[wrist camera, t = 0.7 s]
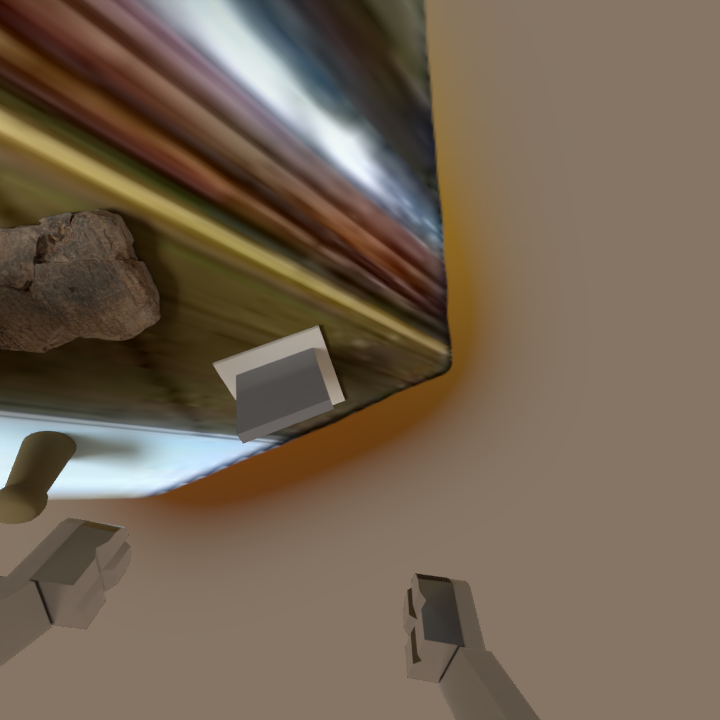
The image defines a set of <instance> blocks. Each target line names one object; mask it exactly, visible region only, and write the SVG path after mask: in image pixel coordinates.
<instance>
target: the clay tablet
mask: <svg viewBox="0 0 720 720" xmlns="http://www.w3.org/2000/svg"><path fill="white" fill-rule="evenodd" d="M39 222H40V223H41V225H22V226H19V227H16V228H14V229H6V228H1V229H0V349H5V350H13V351H27V352H36V353H45V352H47V350H49V349H52V348H53V347H59V346H61V345H63V344H65V343H68V342H72V341H73V340H74V339H76V338H78V337H82V338H100V339H105V340H118V341H123V340H127V339H131V338H134V337H135V336H136V335H138V334H140V333H141V332H142V331H143V330H144V329H145V328H147V327H150V326H152V325H154V324H155V323H156V322H157V321H158V320H159V319H160V317H161V315H160V313H159V310H160V306H159V304H160V295H159V292H158V289H157V287H156V285H155V284H154V282H153V279H152V277H151V274H150V271H149V270H148V268H147V267H146V265H145V263H144V261H137V260H138V259H137V257H136V255H135V252H134V249H133V246H132V244H133V242H134V239H133V237H132V234H131V233H130V231H129V229H128V228H127V226H126V224H125V222H124V220H123V219H122V217H121V216H120V215H119V214H113V213H111V212H109V211H107V210H103V209H97V210H95V211H83V212H80V213H77V214H75V213H72V212H68V213H63V214H58V215H54V216H49V217H44V218H42V219H40V220H39Z"/></svg>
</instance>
